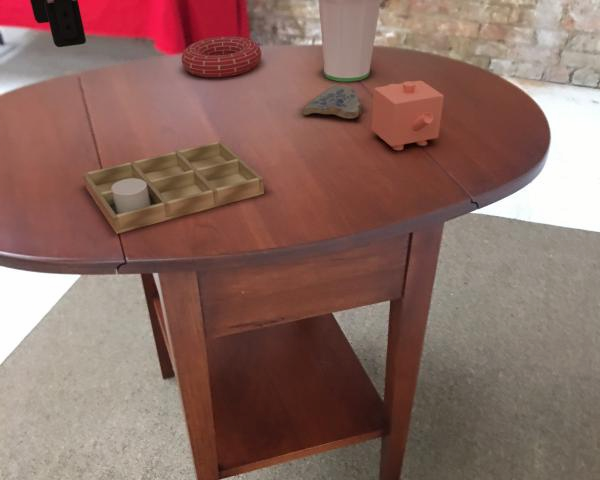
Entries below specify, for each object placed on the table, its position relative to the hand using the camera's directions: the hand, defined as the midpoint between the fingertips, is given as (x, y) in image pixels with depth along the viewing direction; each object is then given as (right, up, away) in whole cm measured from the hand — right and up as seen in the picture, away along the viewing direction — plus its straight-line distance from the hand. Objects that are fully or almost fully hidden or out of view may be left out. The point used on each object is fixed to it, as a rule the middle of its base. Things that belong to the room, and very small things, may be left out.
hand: (60, 32), depth 69 cm
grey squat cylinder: (+5, -16, +12) cm, 20 cm away
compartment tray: (+9, -12, +17) cm, 23 cm away
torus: (+11, +24, +52) cm, 59 cm away
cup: (+35, +20, +48) cm, 63 cm away
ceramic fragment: (+33, +8, +36) cm, 49 cm away
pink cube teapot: (+42, -1, +27) cm, 50 cm away
